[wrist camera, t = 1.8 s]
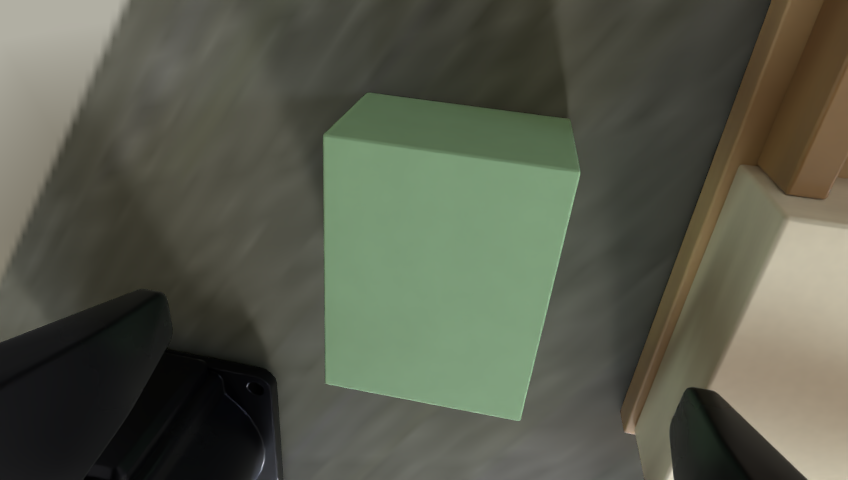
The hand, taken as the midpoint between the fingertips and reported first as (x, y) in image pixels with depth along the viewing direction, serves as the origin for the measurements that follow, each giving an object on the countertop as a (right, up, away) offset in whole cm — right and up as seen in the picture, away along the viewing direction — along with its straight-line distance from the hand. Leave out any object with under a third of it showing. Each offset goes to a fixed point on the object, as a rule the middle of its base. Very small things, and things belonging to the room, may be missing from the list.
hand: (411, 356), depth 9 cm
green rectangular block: (+1, +2, +4) cm, 5 cm away
